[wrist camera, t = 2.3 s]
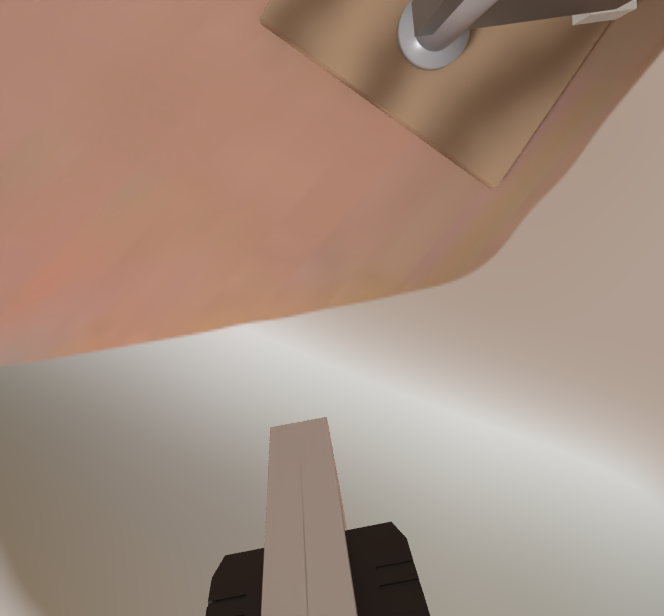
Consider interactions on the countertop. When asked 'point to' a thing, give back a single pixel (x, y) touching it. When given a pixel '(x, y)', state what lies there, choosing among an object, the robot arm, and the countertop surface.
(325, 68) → the brown square base board
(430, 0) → the signpost stand
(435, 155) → the countertop surface
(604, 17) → the gauge marks
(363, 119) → the countertop surface
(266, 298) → the countertop surface
